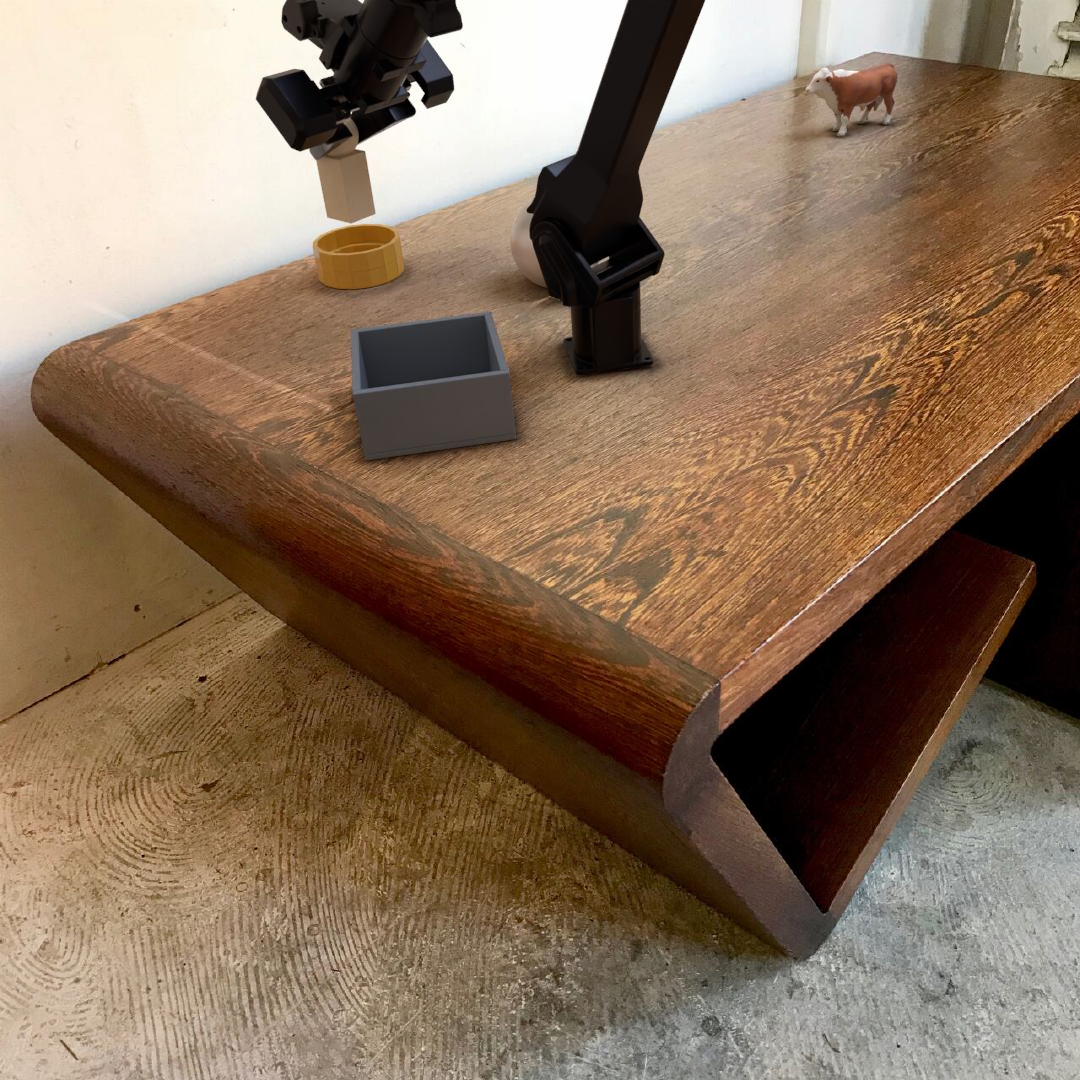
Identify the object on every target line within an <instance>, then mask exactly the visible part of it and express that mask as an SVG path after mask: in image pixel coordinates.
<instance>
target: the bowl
mask: <svg viewBox="0 0 1080 1080" xmlns="http://www.w3.org/2000/svg"><path fill="white" fill-rule="evenodd" d="M312 251H313V256H314V257H313V258H314V260H315V261H314V262H315V266H316V271H317V277H318V281H319V282H320V283H321V284H323V285H324V286H325V287H329V288H333V289H336V290H361V289H367V288H368V289H369V288H373V287H377V286H380V285H385V284H387V283H389V282H391V281H394V280H395V279H397V278H399V277H400V276H401V275H402V274H403V272H405V270H406V267H405V262H404V255H403V248H402V241H401V236H400V230H398V229H397V228H396V227H393V226H391V225H387V224H380V223H360V224H359V223H358V224H350V225H345V226H342V227H338V228H334V229H331V230H329V231H326V232H324V233H321V234H320V235H318V237H316V238H315V239H314V240H313V241H312Z"/></svg>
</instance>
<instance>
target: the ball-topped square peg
mask: <svg viewBox="0 0 1080 1080" xmlns="http://www.w3.org/2000/svg"><path fill="white" fill-rule="evenodd" d="M345 125H346V126H347V128H348V129H349V130H350V132H351V133H352V134H353V136H352V137H351V138H350V139H348V140H347V141H345V142H344V143H342V144H341V145H340V146H338V147H337V148H335V149H334V150H333V151H331V152H330V153H328V154H327V155H325V156H324V157H322V158H321V159H319V160H315V162H316V167H317V172H318V177H319V182H320V187H321V193H322V198H323V203H324V209H325V212H326V213H325V214H326V218H328V219H331V220H335V221H338V222H339V221H340V222H343V223H347V224H354V223H356V222H358V221H361V220H364V219H366V218H369V217H371V216H374V215H376V213H377V212H376V207H375V201H374V195H373V189H372V183H371V177H370V172H369V165H368V159H367V153H366V150H362V149H357V146H358V145H357V144H358V139H359V134H358V129H357V127H356V125H355V123H354V122H353V120H352V119H351V118H350V119H349V120H348V121H346V123H345Z"/></svg>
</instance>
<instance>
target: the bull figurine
mask: <svg viewBox="0 0 1080 1080" xmlns="http://www.w3.org/2000/svg"><path fill="white" fill-rule="evenodd" d="M897 83H898V72H897V70H896V68H895V66H894V64H892V63H891V62H886V63H883V64H880V65H879V64H878V65H875V66H871V67H868V68H864V69H860V70H845V69H842V68H839V69H835V70H833V71H830V70H829V69H828V68H827V67H822V68H820V69H819V70H818V72H816V73H815V74H814V75H813V77H812V80H811V81H810V83H809V84H808V85H807V86H806V87H805V92H806V94H808V95H815V96H816V97H818V98H819V99H821V100H822V99H823V100H824V101H825V104H826V105H827V107H828V108H829V109H830V110H831V112H832V113H834V117H835V119H836V122H835V125H834V126H833V128H832V131H834V132H837V133H836V136H837V137H840V138H841V137H845V135H846V134H847V132H848V130H847V124H848V123H849V121H850V118H851V115H852V113H853V111H854V108H855V107H859V108H860V112H863V113H862V115H861V116H860V117H859V118H858V119H857V121H856V124H858V125H859V124H860V125H861V124H865V121H868V120H869V115H870V112H871V111H872V109H873V111H874V112H876V111H877V110H878V108H879V107H880V106H881V105H882V102H884V105H885V109H886V110H885V115H884V117H883V120H882V122H881V125H885V126H886V125H887V126H888V125H890V123H891V120H892V113H893V108H894V106H895V103H896V101H895V99H894V96H893V95H894V91H895V89H896V86H897Z"/></svg>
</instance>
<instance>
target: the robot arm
mask: <svg viewBox="0 0 1080 1080" xmlns="http://www.w3.org/2000/svg"><path fill="white" fill-rule="evenodd" d="M705 2H706V0H627V1H626V4H625V7H624V10H623V12H622V16H621V19H620V22H619V25H618V28H617V31H616V34H615V37H614V40H613V43H612V46H611V49H610V52H609V54H608V57H607V60H606V63H605V67H604V69H603V73H602V75H601V79H600V82H599V85H598V88H597V90H596V93H595V97H594V100H593V102H592V105H591V108H590V111H589V114H588V118H587V120H586V123H585V126H584V129H583V133H582V135H581V138H580V141H579V143H578V147H577V151H576V152H575V153H574V154H572V155H570V156H567V157H565V158H562V159H559V160H558V161H555V162H552V163H550V164H547V165H545V166H543V167H542V168H541V170H540V173H539V175H538V177H537V181H536V189H535V193H534V197H533V198H534V199H533V198H532V199H533V201H532V203H531V205H530V206H529V207H528V208H527V209H526V211H527V213H530V214H533V215H532V217H531V220H530V226H529V235H530V239H531V240H532V244H533V248H534V251H535V254H536V257H537V260H538V263H539V266H540V269H541V272H542V275H543V278H544V281H545V284H546V287H547V288H546V290H547V293H548V295H549V297H551V298H553V299H556V300H559V301H560V302H561V304H562V306H564V307H567V308H570V321H571V336H570V337H565V338H563V339H562V342H563V347H564V349H565V352H566V354H567V357H568V359H569V361H570V364H571V367H572V369H573V371H574V373H575V375H577V376H586V375H593V374H600V373H609V372H616V371H623V370H630V369H637V368H644V367H645V368H646V367H650V366H652V365H654V357H653V355H652V353H651V352H650V350H649V348H648V346H647V345H646V343H645V341H644V340H643V338H642V310H641V309H642V305H641V299H642V298H641V282H643V281H645V280H647V279H649V278H650V277H655V276H656V275H658V274H659V273H660V271H661V267H662V264H663V262H664V258H665V254H666V253H665V251H664V249H663V248H662V246H661V245H660V244H659V242H658V241H657V240H656V238H655V236H654V235H653V234H652V233H651V231H650V229H649V228H648V226H647V225H646V223H645V222H644V221H643V220H642V218H641V217H640V216H641V211H642V207H643V204H644V203H643V202H644V193H643V187H642V183H641V178H640V167H641V165H642V162H643V159H644V158H645V155H646V152H647V149H648V147H649V144H650V142H651V139H652V137H653V134H654V132H655V129H656V127H657V123H658V121H659V119H660V117H661V114H662V111H663V109H664V106H665V104H666V102H667V98H668V96H669V93H670V91H671V89H672V86H673V83H674V81H675V79H676V76H677V74H678V71H679V68H680V65H681V64H682V61H683V58H684V55H685V54H686V50H687V48H688V46H689V42H690V40H691V38H692V36H693V33H694V31H695V28H696V25H697V22H698V19H699V17H700V15H701V13H702V10H703V7H704V6H705ZM281 25H282V27H283V29H284V30H285V31H286V32H287V33H289V34H290V35H291V36H292V37H293V38H295V40H296V39H297V41H299V42H304V41H306V40H308V41H310V42H311V43H312V44H313V45H314V46H316V47H317V48H318V49H320V50H321V53H320V55H319V56H318V60H319V61H320V63H321V64H322V65H323V67H324V69H325V70H326V71H329V70H331V71H332V72H333V75H330V76H327V77H323V78H321V79H320V80H319V82H318V84H319V85H320V88H319V86H318V85H317V83H316V82H315V81H314V80H313V79H311V78H310V76H309V75H308V73H307V72H306V71H305V69H300V68H292V69H288V70H284V71H281V72H277V73H274V74H270V75H266V76H262V78H261V81H260V84H259V86H258V89H257V92H256V96H255V101H256V102H257V104H258V105H259V106H260V108H261V109H262V110H263V111H264V113H265V114H266V116H267V117H268V119H269V120H270V121H271V123H272V124H273V126H274V127H275V128H276V130H277V131H278V132H279V134H280V135H281V136H282V138H283V140H284V141H285V142H286V143H287V145H288V146H289V148H290V149H292V150H295V151H297V152H300V153H301V152H303V151H306V150H309V153H310V155H311V156H312V158H313V159H314V160H315V161H316V160H319V159H321V158H322V157H324V156H325V155H327V154H328V153H330V152H331V151H333V150H334V149H335V148H337V147H338V146H340V145H341V144H342V143H344V142H345V141H347V140H348V139H350V138H351V137H352V136H353V134H352V133H351V132H350V130H349V129H348V128H347V126H346V125H345V123H346V121H348V120H349V119H350V118H351V119H352V120H353V122H354V123H355V125H356V127H357V129H358V134H359V139H358V144H357V146H359V145H360V144H363V143H364V142H366V141H368V140H370V139H372V138H373V137H375V136H377V135H379V134H382V133H383V132H384V131H386V130H389V129H390V128H393V127H394V126H397V125H398V124H400V123H402V122H404V121H406V120H408V119H410V118H413V117H414V116H415V115H416V113H417V110H416V108H415V106H414V105H413V103H412V102H411V100H410V99H409V98H410V97H411V93H410V90H411V88H412V86H413V85H412V84H413V83H416V84H417V85H418V86H419V87H420V89H421V90H422V92H423V96H422V97H421V99H420V102H421V103H422V104H423V106H424V108H426V109H427V110H429V109H432V108H434V107H435V108H436V107H438V106H440V105H444V104H446V103H447V102H448V101H449V99H450V97H451V96H452V94H453V92H454V91H455V81H454V74H453V73H452V71H451V70H450V69H449V67H448V66H447V64H446V63H445V61H444V60H443V58H442V57H441V56H440V55H439V53H438V52H437V51H436V50H435V47H433V45H432V43H431V42H430V41H429V39H428V38H435V37H440V36H443V35H447V34H452V33H454V32H459V31H461V30H463V27H464V23H463V19H462V14H461V12H460V11H459V9H458V6H457V0H363V2H361V1H360V0H285V2H284V4H283V5H282V9H281ZM606 258H608V259H606ZM604 259H606V260H604ZM602 260H603V261H602ZM597 262H598V264H597V265H596V266H594V267H592V268H591V267H590V266H591V265H593V264H595V263H597ZM599 262H600V263H599Z"/></svg>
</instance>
